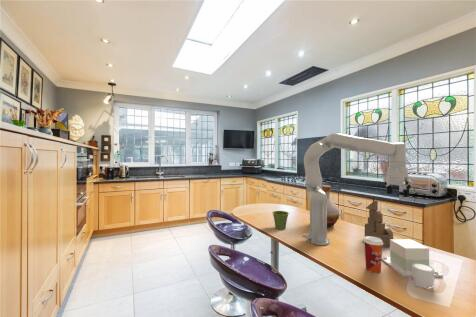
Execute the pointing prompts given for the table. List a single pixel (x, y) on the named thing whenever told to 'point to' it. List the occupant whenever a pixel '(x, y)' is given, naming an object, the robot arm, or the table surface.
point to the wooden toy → (377, 225)
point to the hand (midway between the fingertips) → (397, 195)
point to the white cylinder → (423, 275)
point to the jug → (330, 208)
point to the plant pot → (280, 219)
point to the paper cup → (373, 253)
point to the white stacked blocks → (407, 256)
